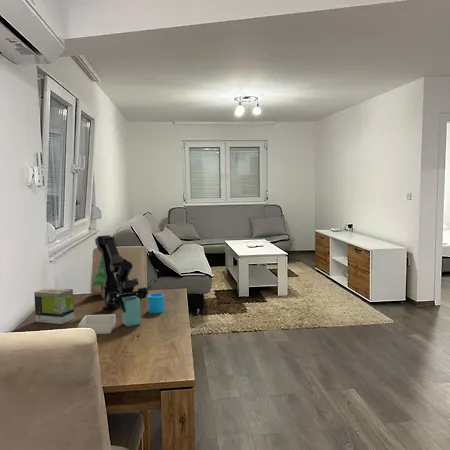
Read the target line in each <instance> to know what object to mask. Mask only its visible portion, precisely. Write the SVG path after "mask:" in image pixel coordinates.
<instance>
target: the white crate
mask: <svg viewBox="0 0 450 450" xmlns="http://www.w3.org/2000/svg"><path fill="white" fill-rule="evenodd" d="M116 324H117V320H116V313H111V314H110V313H109V314H89V315H87V314H86V315H85V316H84V317H83V318H82V319H81V321H80V322H79V323H78V325H77V329H78V328H82V327H85V328H92V329H93V330H94V331H95V332H96V334H95V335H106V334H110V335H111V334H112V332H113V331H114V328H115V326H116Z"/></svg>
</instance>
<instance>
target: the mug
mask: <svg viewBox="0 0 450 450" xmlns="http://www.w3.org/2000/svg"><path fill="white" fill-rule="evenodd" d="M147 302H148V303H147V305H148V310H147V311H148V313H150V314H160V313H164V312H165V294H164V293H160V292H159V293H158V292H154V293H150V294H147Z"/></svg>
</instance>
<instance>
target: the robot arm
mask: <svg viewBox="0 0 450 450" xmlns="http://www.w3.org/2000/svg"><path fill="white" fill-rule="evenodd" d="M94 242H95V246H96V249H97V250H98V251H99V252H100V255H102V260H103V266H104V273H105V279H106V280H105V282H104V284H103V290H102V293H101V292H100V295H101V294H102V295H101V298H102V299H104V307H102V309H103V310H107V311H113V310H117V309H120V310H121V312H122V311H123V312H124V313H125V308H124V305H123V302H122V298H126V297H132V296H136V297H138V298H139V299H140V302H141V301H142V299H145V298H147V296H148V293H149V290H148V287H139V288H138V289H137V290H136V291H134V290H135V287H136V286H138V285H139V283H140V282H139V278H137V277H135V278H133V279H129V276H130V274H131V273H132V269H133V263H132V262H130V261H128V260H127V259H125V258H124V257H122V256H121V255H120V253H119V251H118V248H117V245H116V243H115V237H114V236H112V235H111V236H110V235H109V234H107V235H105V234H104V235H98V236H97V237H96V238H95V241H94ZM114 275H115V277H116V278H115V277H114Z"/></svg>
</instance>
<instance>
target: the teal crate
mask: <svg viewBox="0 0 450 450" xmlns="http://www.w3.org/2000/svg"><path fill="white" fill-rule="evenodd" d="M122 302H123V305H124V308H125V313H124V312H123V311H122V310H121V317H122V320H121V321H122V325H124V326H125V327H126V328H130V327H135V326H141V325H142V316H141V315H142V314H141V311H142V310H141V301H140V299H139V298H138V297H136V296H132V297H125V298H122Z"/></svg>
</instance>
